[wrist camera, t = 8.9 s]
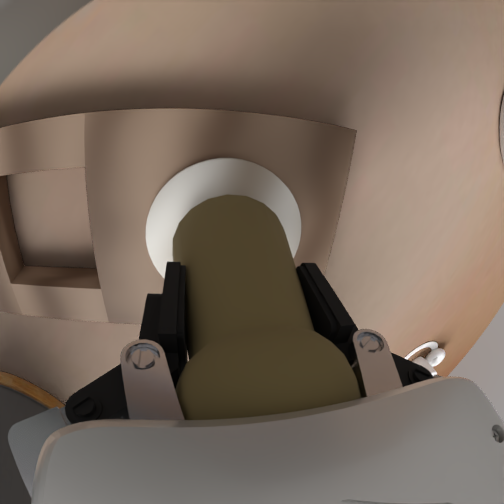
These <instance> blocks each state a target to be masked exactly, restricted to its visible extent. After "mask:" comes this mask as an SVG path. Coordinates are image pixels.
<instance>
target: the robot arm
mask: <svg viewBox="0 0 504 504" xmlns="http://www.w3.org/2000/svg"><path fill="white" fill-rule="evenodd" d="M500 147H501V154H502V159H503V163H504V96H503V101H502V105H501V113H500ZM296 271H297V274H298V277H299V280H300V283H301V286H302V289H303V293H304V296H305V299H306V303H307V306H308V310H309V313H310V317H311V320H312V324H313V327H314V331H315V332H317V333H318V334H320V335H321V336H323V337H325V338H326V339H328V340H329V341H331V342H332V343H333V344H334V345H335V346H336V347H337V348H338V349H339V350H340V351H341V352H342V353H343V354H344V355H345V357H346V359H347V361H348V363H349V364H350V366H351V368H352V370H353V372H354V374H355V376H356V379H357V381H358V383H359V389H360V394H361V399H356V400H352V401H348V402H343V403H339V404H334V405H329V406H324V407H319V408H313V409H308V410H302V411H295V412H289V413H281V414H274V415H265V416H256V417H245V418H232V419H214V420H185V419H184V416H183V413H182V410H181V407H180V404H179V401H178V398H177V395H176V391H175V389H176V385H177V382H178V379H179V377H180V375H181V373H182V371H183V369H184V367H185V365H186V363H187V345H186V330H185V280H186V265H181V262H167V264H166V271H165V278H164V285H163V292H162V294H151V293H148V294H147V297H146V302H145V307H144V313H143V318H142V324H141V330H140V336H139V340H136V341H133V342H131V343H129V344H127V345H126V346H125V347H124V348H123V350H122V352H121V358H120V359H121V364H120V365H118V366H116V367H115V368H113V369H112V370H110V371H109V372H107V373H106V374H104V375H102V376H101V377H99V378H98V379H96V380H95V381H93V382H91V383H90V384H88V385H87V386H85V387H84V388H82V389H80V390H79V391H77V392H76V393H74V394H73V395H72V396H71V397H69V399H68V400H67V402H66V405H65V406H64V407H62V408H60V409H59V408H58V407H57V406H56V407H54V408H52V409H49V410H47V411H44V412H42V413H40V414H37V415H35V416H32V417H30V418H27V419H25V420H22V421H20V422H17V423H16V424H14V425H13V426H12V427H11V428H10V430H9V433H8V441H9V445H10V448H11V451H12V454H13V456H14V459H15V462H16V464H17V467H18V469H19V472H20V474H21V477H22V479H23V481H24V483H25V486H26V488H27V490H28V492H29V494H30V496H31V498H32V500H31V504H504V422H503V420H502V419H501V417H500V416H499V414H498V413H497V411H496V409H495V408H494V406H493V405H492V403H491V402H490V400H489V399H488V398H487V396H486V395H485V394H484V392H483V391H482V390H481V389H480V388H479V387H478V386H477V384H475V383H474V382H473V381H471V380H469V379H466V378H462V377H442V376H439V375H434V376H433V375H432V374H431V372H430V371H429V370H427V369H426V368H425V367H423V366H421V365H418V364H416V363H414V362H411V361H409V360H407V359H405V358H402V357H400V356H398V355H396V354H393V353H391V352H390V349H389V346H388V344H387V341H386V340H385V338H384V337H383V336H382V335H381V334H379V333H378V332H376V331H373V330H370V329H361V330H358V328H357V327H356V325H355V324H354V322H353V320H352V319H351V317H350V316H349V314H348V312H347V311H346V309H345V308H344V306H343V304H342V303H341V301H340V300H339V298H338V297H337V295H336V294H335V292H334V291H333V289H332V287H331V286H330V284H329V283H328V281H327V280H326V278H325V277H324V275H323V274H322V272H321V271H320V269H319V268H318V266H317V265H316V263H301V265H300V266H297V268H296Z"/></svg>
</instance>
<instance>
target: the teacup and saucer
mask: <svg viewBox="0 0 504 504" xmlns="http://www.w3.org/2000/svg"><path fill="white" fill-rule="evenodd" d="M425 347H430V348H431V350H432V351H431V352H430V353H429V354H428V355H427V356H426V357H425V359H424V358H423V357H417V358H416V359H414V360H413V361H412V362H414V363H416V364H418V365H421V366H423V367H425V368H426V369H427V370H429V371H430V372H431V374H432V375H433V376H434V375H436V374H437V372H436V371H435V370H434V368H433V367H434V366H436V365H437V364H439V363H440V362H441V361H442V360H443V359H444V357H445V351H444V350H443V349H441V348H438V344H437V343H436V342H434V341H431V342H427V343H425V344H422V345H421V346H419V347H417V348H416V349H414V350H413V351H412V352H410V353H409V354H408V355H407V356H406V357H405V359H408V358H409V357H410V356H411V355H413V354H414V353H415V352H417V351H419V350H420V349H422V348H425Z"/></svg>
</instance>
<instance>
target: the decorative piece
mask: <svg viewBox="0 0 504 504" xmlns="http://www.w3.org/2000/svg"><path fill="white" fill-rule="evenodd" d="M56 406H57V407H58V408H59V409H60V408H62V407H64V406H65V405H64V404H63V403H61V402H60V401H59V400H57V399H56V398H55V397H53V396H52V395H50V394H49V393H47V392H46V391H44V390H42V389H41V388H39V387H37V386H36V385H34V384H32V383H30V382H28V381H26V380H24V379H22V378H19V377H17V376H15V375H12V374H9V373H5V372H0V504H31V500H32V498H31V496H30V494H29V492H28V490H27V488H26V486H25V483H24V481H23V479H22V477H21V474H20V472H19V469H18V467H17V464H16V462H15V459H14V456H13V454H12V451H11V448H10V445H9V441H8V433H9V430H10V428H11V427H12V426H13V425H14V424H16V423H17V422H20V421H22V420H25V419H27V418H30V417H32V416H35V415H37V414H40V413H42V412H44V411H47V410H49V409H52V408H54V407H56Z"/></svg>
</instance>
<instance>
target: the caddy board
mask: <svg viewBox="0 0 504 504" xmlns="http://www.w3.org/2000/svg"><path fill="white" fill-rule="evenodd" d="M356 132H357V130H353V129H349V128H345V127H341V126H336V125H332V124H326V123H321V122H316V121H310V120H304V119H298V118H292V117H285V116H278V115H270V114H262V113H252V112H242V111H230V110H215V109H193V108H142V109H121V110H107V111H95V112H86V113H77V114H69V115H62V116H55V117H49V118H43V119H38V120H33V121H28V122H23V123H18V124H14V125H9V126H5V127H1V128H0V312H6V313H13V314H20V315H28V316H36V317H45V318H55V319H65V320H77V321H90V322H105V323H124V324H142V318H143V313H144V307H145V302H146V297H147V294H148V293H151V294H162V292H163V285H164V278H165V271H166V264H167V262H173V256H172V248H173V237H174V234H175V232H176V229H177V227H178V224H179V222H180V221H181V220H182V219H183V218H184V216H185V215H186V214H187V213H188V212H189V211H190V209H192V208H193V207H195V206H197V205H198V204H200V203H202V202H203V201H205V200H207V199H209V198H214V197H218V196H222V195H227V194H229V195H242V196H248V197H250V198H253V199H255V200H258V201H260V202H262V203H264V204H265V205H266V206H267V207H269V208H270V209H271V210H272V211H273V212H274V213H275V214H276V215H277V217H278V218H279V220H280V222H281V224H282V226H283V228H284V231H285V234H286V237H287V240H288V243H289V246H290V250H291V253H292V256H293V259H294V263H295V266H296V268H297V266H300V265H301V263H316V265H317V266H318V268H319V269H320V271H321V272H322V274H323V275H324V274H325V270H326V267H327V263H328V259H329V256H330V252H331V248H332V244H333V240H334V236H335V232H336V228H337V224H338V220H339V216H340V211H341V207H342V203H343V198H344V194H345V189H346V184H347V179H348V175H349V170H350V165H351V160H352V154H353V149H354V143H355V138H356ZM81 167H85V175H86V190H87V201H88V211H89V220H90V228H91V236H92V242H93V249H94V255H95V261H96V266H97V268H67V267H39V266H24V263H23V260H22V256H21V252H20V248H19V244H18V240H17V236H16V232H15V227H14V222H13V217H12V212H11V206H10V200H9V193H8V186H7V178H6V175H10V174H18V173H26V172H35V171H44V170H55V169H67V168H81Z"/></svg>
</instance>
